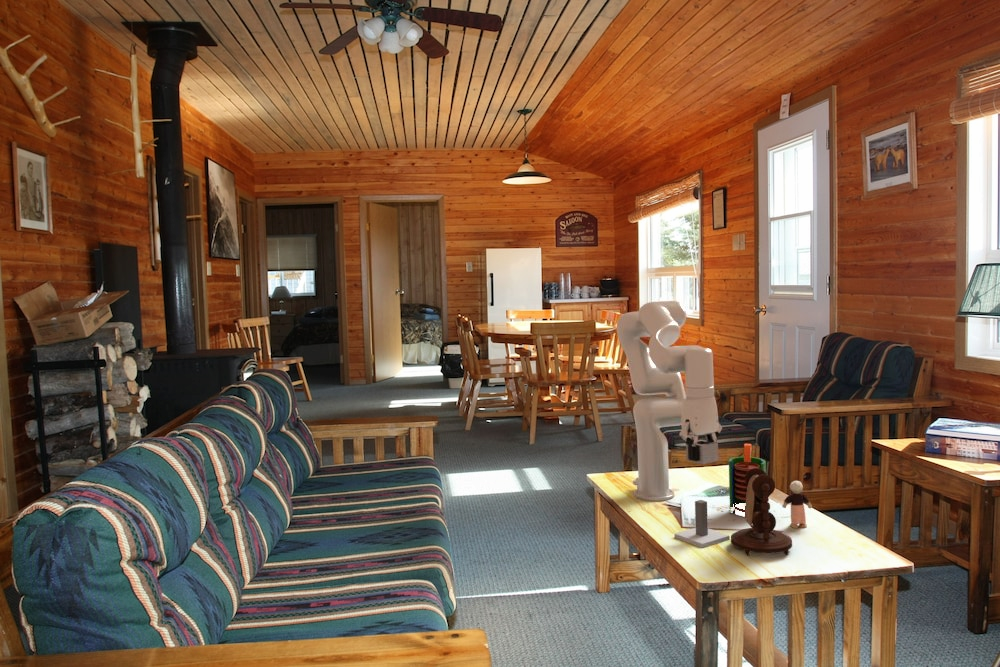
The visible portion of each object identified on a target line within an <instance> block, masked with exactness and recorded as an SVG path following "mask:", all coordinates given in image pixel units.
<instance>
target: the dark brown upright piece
mask: <svg viewBox="0 0 1000 667" xmlns="http://www.w3.org/2000/svg"><path fill="white" fill-rule="evenodd" d="M745 482H746V484H747V486H748V487H747V494H746V506H745V517H746V518H745V517H744V518H745V520H746V523H747V524H748V525H749V527H747V528H743V529H739V530H737V531H735V532H734V533H732V534H731V535H730V543H731V544H732V545H733V547H735V548H737V549H739V550H742V551H744V553H745V556H747V557H748V556H750V553H757V554H777V553H778V554H779V553H784V555H786V556H787V555H788V554H789V550H791V549H792V547H793V539H792V538H791V537H790V536H789V535H787V534H785V533H783V531H779V530H776V529H775V528H776V525H777V518H776V517H775V515H774V514H773V513H772V512H770V509H771V503H770V502H769V500H770V498H769V497H770V496H771V495H772V494H773V493H774V491H775V489H776V483H775V480H774V479H773V477H772V476H770V475H768V474H767V472H766V473H765V472H764V471H763V470H762V469H760V468H753V469H750V470H749V471H748V472H747V473H746V475H745ZM757 502H758V503H757Z"/></svg>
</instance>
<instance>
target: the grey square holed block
mask: <svg viewBox="0 0 1000 667" xmlns="http://www.w3.org/2000/svg"><path fill="white" fill-rule="evenodd" d="M696 446H697V447H698V459H699V460H698V461H692V460H689V459H688V446H687V445H686V444H685V455H686V456H685V457H686V458H685V460H686V461H687V462H691V463H695V464H698V465H699V464H700V465H705V464H706V465H707V464H710V463H715V462H718V461H719V442H718V441H717V442H711V441H707V440H706V439H705V440H704V439H698V440H697V444H696Z"/></svg>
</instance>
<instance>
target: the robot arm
mask: <svg viewBox="0 0 1000 667" xmlns="http://www.w3.org/2000/svg"><path fill="white" fill-rule="evenodd" d="M686 320H687V311H686V308H685V306H684V304H682V302H679V301H678V300H667V301H666V300H664V301H663V300H661V301H649V302H646V303H644V304H642V305H641V307H639V310H637V311H631V312H630V311H629V312H626V313H623V314H621V315H620V316H619V317H618V319H617V323H616V333H617V338H618V341H619V344H620V346H621V348H622V350H623V352H624V354H625V356H626V360H627V366H628V370H629V375H630V380H631V381H630V382H631V385H632V388H633V390H634V393H635V394H637V395H640V396H652V395H653V396H654V395H666V396H656V397H646V398H642V399H638V401H636V403H634V405H633V408H632V409H633V411H632V413H633V419H634V424H635V425H634V426H635V429H636V443H637V472H638V475H637V477H636V478H635V479H634V480H633V481H632V484H633V485H634V486H636V489H635V490H634V492H633V495H634V497H635V498H637V499H639V500H643V501H650V502H652V501H653V502H654V501H655V502H660V501H667V500H670V499H672V498H674V496H675V491H673V490H672V489H670V483H669V482H670V476H669V444H668V439H667V437H666V435H665V434H664V433H663V432H662V431H661V428H667V427H677V426H681V431H680V432H679V435H678V436H679V437H680V438H681V439H682V440H683V442H684V443H685V446H686V445H687V446H688V459H689V460H692V461H698V460H699V459H698V447H697V446H696V444H697V440H699V437H700V436H705V438H706V439H705V440H706V441H711V442H717V443H718V438H719V436H720V433H721V431H722V429H723V426H722V425H721V423H720V422H719V412H718V406H717V401H716V397H715V390H716V389H715V382H714V381H715V380H714V355H713V350H712V349H711V348H708V347H703V346H700V345H696V344H694V345H676V346H675V345H674V346H673V344H675V343H676V342H677V341H678V340H679V339H680V335H681V328H682V327H684V325H685V323H686ZM640 338H650V339H649V342H648V344H647V343H646V342H644V341H643V340H642V339H640ZM681 373H684V380H685V381H684V382H685V383H684V382H683V377H682V375H681ZM684 384H685V385H684ZM684 386H685V387H684Z"/></svg>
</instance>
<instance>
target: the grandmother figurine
mask: <svg viewBox="0 0 1000 667" xmlns="http://www.w3.org/2000/svg"><path fill="white" fill-rule="evenodd" d="M789 488H790V490H791V492H792V494H789V495H788V496H786V497H785V498H784V500H783V504H782V505H781V506H782V508H783V509H786V508H787V506H788V505H789V504H790V522H791V523H790V524H789V526H790V527H791V528H793V529H799V527H800V528H803V529H804V528H807V527H808V524H807V522H806V521H807V519H806V511H805V505H804V503H805V504H806V506H807V508H808V509H812V507H813V506H812V503H811V502H810V500H809V498H808V497H807V496H806V495H805V494H803V493H801V492H802V491H803V488H804V487H803V483H802V482H801V481H800V480H794V481H792V482H791V483H790V485H789Z"/></svg>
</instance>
